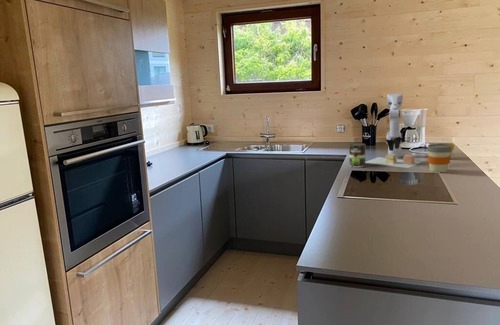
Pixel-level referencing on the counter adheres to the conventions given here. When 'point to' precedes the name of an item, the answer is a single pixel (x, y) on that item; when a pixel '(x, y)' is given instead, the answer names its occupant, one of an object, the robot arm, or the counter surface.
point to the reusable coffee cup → (439, 157)
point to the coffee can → (357, 154)
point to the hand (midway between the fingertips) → (394, 149)
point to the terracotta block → (408, 159)
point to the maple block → (391, 158)
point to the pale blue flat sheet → (398, 164)
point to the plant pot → (450, 145)
